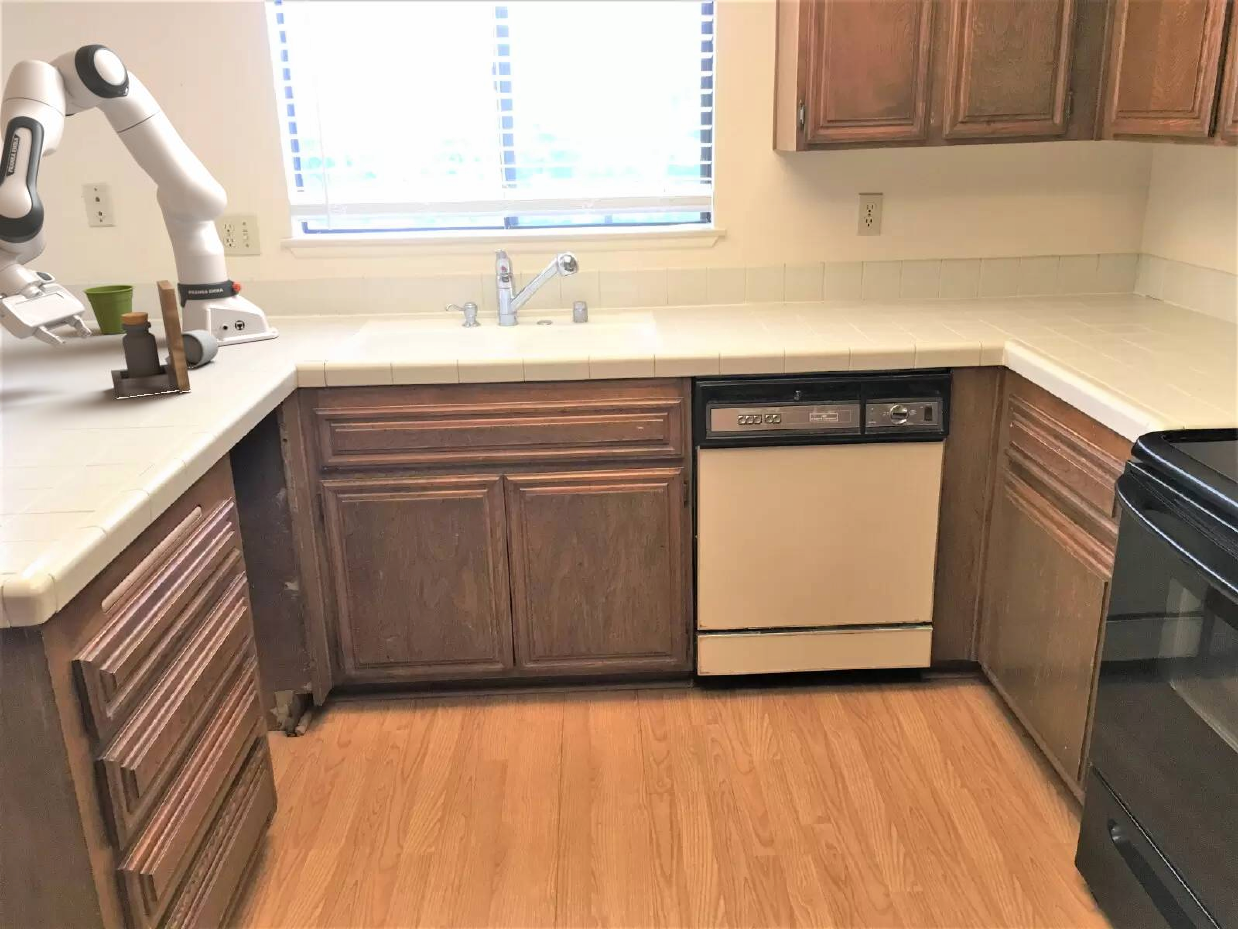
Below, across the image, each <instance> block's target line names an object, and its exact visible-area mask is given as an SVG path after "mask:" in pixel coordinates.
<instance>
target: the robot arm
mask: <svg viewBox="0 0 1238 929" xmlns="http://www.w3.org/2000/svg"><path fill="white" fill-rule="evenodd" d="M5 84H6V85H5V88H4V91H3V96H2V101H1V105H0V106H1V107H0V136H1V141H2V142H3V147H2V153H1V158H0V324H1V325H2V327H4V329H6V331H7V332H9V333H10V334H11V335H12V336H13V337H14V338H17V339H20V340H24V339H27V338H30V337H34V338H36V339H37V340H39V341H41V342H43V343H46V344H49V345H50V346H51V347H52V348H54V349H55V350H58V349H61V348H62V347H64V345H65V344H66V341H65V339H63V338H62V337H61V336H60V335H55V334H53V333H51V332H49V331H52V330H54V329H58V328H60V327H63V326H66V325H69V326H70V328H74V329H75V331H76V335H77V336H78V337H80V338H81V339H82V340H86V339H88V338H90V337H91V335H92V330H90V329H89V328H88V327H87V326H86V324H85V322H84V320H83V319H82V318H81V317H82V316H83V314H84V313H85V312H86V308H85V306H84V304H83V303H82V302H81V301H80V300H79V299H78V298H77V297H76V296H74V295H73V294H72V293H71V292H70V291H69V290H67V288H65V287H64V286H62V285H60V284H58V283H55V281H56V278H55V276H53V275H52V274H50V273H49V272H44V271H43V272H42V271H38V270H37V271H36V270H33V269H30V268H25V267H24V265H26V264H27V263H29V262H31V261H33V260H34V259H36V258H37V257H38V256H40V255H41V254H42V252H44V250H45V247H46V245H47V244H46V243H47V240H46V239H47V235H46V227H45V222H44V221H45V220H44V219H45V218H44V217H45V210H44V206H43V202H42V200H41V197H40V195H39V193H38V189H37V187H38V186H37V185H38V179H39V172H40V168H41V160H42V158H45V157H49V156H51V155H53V154H54V153H56V152H57V151H58V149H59V146H60V145H61V140H62V139H63V135H64V131H65V123H66V118H67V117H72V116H74V115H75V114H78V113H82V112H86V111H89V110H91V109H94V108H97V109H98V110H100V111H101V112H103V114H104V116H105V118H106V120H107V121H108V123H109V125H110V126H111V127H112V129H113V131H114V132H115V133H116V135H117V136H118V138H119V139H120V141H121V142H122V143H123V145H124V146H125V148H126V149H127V151H128V152H129V153H130V155H131V156H132V158H133V159H134V160H135V162H136V163H137V165H138V166H139V167H140V168H141V169H142V170H143V171H144V172H145V173H146V174H147V176H149V177H150V178H151V179H152V180H153V182H154V183H155V185H157V189H156V200H157V204H158V206H159V208H160V210H161V214H162V217H163V221H164V224H165V228H166V231H167V234H168V237H169V240H170V242H171V245H172V251H173V255H174V262H175V267H176V268H175V269H176V274H177V278H178V279H177V280H178V281H177V284H176V285H177V288H176V290H177V296H178V303H179V305H180V308H181V313H182V320H181V321H182V322H181V324H182V326H181V327H182V328H181V333H184V332H189V331H193V330H205V331H208V332H210V333H211V334H213V335H214V337H215V338H216V339H217V342H218V347H219V346H220V347H222V346H226V345H227V346H229V345H234V344H240V343H242V344H243V343H249V342H254V341H261V340H268V339H275V338H277V337H278V336H279V335H280V333H279V331H278V328H276V327H273V326H269V322H268V318H267V316H266V314H265V312H264V310H263V309H262V308H260V307H259V306H257V305H256V304H254V303H253V302H251V301H250V300H248V299H246V298H245V297H243V296H241V295H239V293H240V292H242V290H243V286H242V284H241V283H240V282H235V281H234V280H231V279H229V278H228V270H227V262H226V257H225V249H224V246H223V243H222V242H221V240H220V238H219V234H218V231H217V229H216V227H215V226H216V225H215V223H214V221H216V220H217V219H219V218H220V217H221V216H222V215H223V214H224V213H225V211H226V209H227V205H228V199H227V194H226V191H225V189H224V188H223V187H222V186H221V184H220V183H218V182H217V181H216V180H215V178H214V177H213V176H212V174H210V172H209V171H208V169H206V167H205V166H204V165H203V163H202V162H201V161H200V160H199V159H198V158H197V156H195V154H194V153H193V152H192V151H191V150H190V148H189V147H188V145H186V144H185V143H184V141H183V140H182V138H181V137H180V135H179V134H178V133H177V131H176V129H175V128H174V127H173V124H171V122H170V121H169V119H168V118H167V116H166V115H165V113H164V112H163V110H162V108H161V106H160V105H159V104H158V103H157V101H156V100H155V98H154V96H152V95H151V93H150V92H149V91H148V89H147V88H146V86H144V85H143V84H142V83H141V81H140V80H139V79H138V78H137V77H136V76H135V75H134V73H132V72H131V71H128V70H127V68H126V65H125V64H124V62H123V61H122V59H121V58H120V57H119V56H118V55H117V54H116V53H115V52H114V50H111V49H110V48H109V47H108V46H105V45H103V44H97V43H95V44H88V45H82V46H81V47H79V48H78V49H77V48H76V49H74V50H71V51H68V52H65V53H61V55H60V54H59V55H58V56H57V58H54V59H53V60H51V61H50V62H48V63H47V62H44V61H41V60H40V59H39V60H37V59H24V60H21V61H19V62H17V63H15V65H14V66H13V67H12V70H11V71H10V73H9V76H8V78H7V82H6V83H5Z"/></svg>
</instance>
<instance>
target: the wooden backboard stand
mask: <svg viewBox="0 0 1238 929" xmlns="http://www.w3.org/2000/svg"><path fill="white" fill-rule="evenodd" d="M156 285H157V291H158V297H159V298H158V299H159V302H160V303H159V304H160V309H161V314H162V320H163V327H164V328H163V329H164V333H165V339H166V344H167V351H168V352H167V353H168V356H169V358H170V364H167V363H166V364H160V368H161V374H162V375H153V376H145V377H136V378H129V375H128V370H127V368H123V369H122V368H121V369H115V370H114V369H113V370H110V374H111V379H112V385H113V390H114V394H116V395H115V399H116V398H119V397H130V396H137V395H144V394H155V393H161V392H167V391H175V390H179V392H182V391H189V390H192V389H191V383H190V377H189V372H188V368H187V364H186V358H185V352H184V346H183V339H182V328H181V327H182V326H181V322H180V316H179V309H178V303H177V298H176V291H175V287H173V285H172V284H171V283H170V282H169V280H168V279H164V280H156ZM179 392H178V393H179Z"/></svg>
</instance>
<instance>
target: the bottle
mask: <svg viewBox="0 0 1238 929" xmlns="http://www.w3.org/2000/svg"><path fill="white" fill-rule="evenodd" d="M121 317H122V319H123V322H124V324H122V329H123V330H125V331H126V334H125V335H124V336H123V337H122V347H123V352H124V358H125V364H126V369H127V370H128V375H129V378H136V377H145V376H153V375H162V374H161V368H160V365H161V363H160V357H159V352H158V345H157V340H156V339H157V338H156V336H155V334H154V333H152V332H150V331H149V330H150V329H151V328H152V323H151V322H150V321H148V320H149V313H148V312H145V311H143V312H142V311H136V312H133V311H132V313H126V314H123V315H121Z"/></svg>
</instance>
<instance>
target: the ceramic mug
mask: <svg viewBox="0 0 1238 929" xmlns="http://www.w3.org/2000/svg"><path fill="white" fill-rule="evenodd" d="M181 333H182V332H181ZM182 339H183V346H184V352H185V358H186V364H187V367H188V368H187V369H193V368H192V367H195V368H197V367H199V366H202V365H204V364H206V363H208V362H210V361H211V360H213V359H214V358H215V357H216V356H217V354H218V352H219V346H218V342H217V339H216V338H215V337H214V335H213V334H211V333H210V332H208V331H205V330H193V331H189V332H184V333H182ZM164 360H165V362H166V364H170V358H169V355H168V356H166V357H165V359H164ZM189 367H190V368H189Z"/></svg>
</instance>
